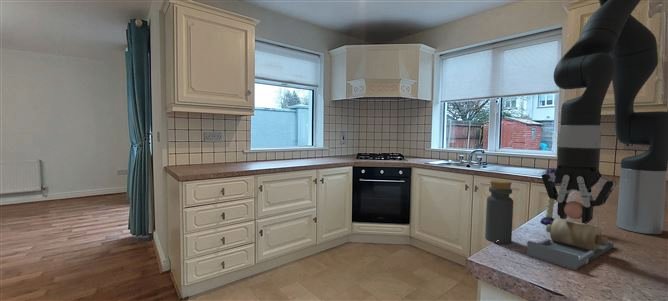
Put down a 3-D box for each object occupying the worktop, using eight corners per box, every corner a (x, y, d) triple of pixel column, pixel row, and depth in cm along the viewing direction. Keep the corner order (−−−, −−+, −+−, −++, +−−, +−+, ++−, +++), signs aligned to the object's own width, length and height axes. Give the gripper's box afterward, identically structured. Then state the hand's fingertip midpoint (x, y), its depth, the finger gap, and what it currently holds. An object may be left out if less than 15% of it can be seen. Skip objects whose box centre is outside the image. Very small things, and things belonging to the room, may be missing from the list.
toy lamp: (562, 224, 91) (565, 168, 90) (555, 227, 88) (559, 169, 87) (544, 220, 95) (546, 167, 94) (537, 223, 92) (540, 168, 91)
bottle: (488, 234, 82) (490, 178, 81) (513, 239, 78) (516, 181, 77) (482, 240, 77) (485, 181, 76) (508, 246, 73) (511, 184, 72)
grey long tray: (568, 236, 81) (569, 225, 81) (613, 247, 74) (614, 234, 73) (526, 255, 68) (527, 241, 68) (575, 270, 61) (576, 255, 61)
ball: (567, 215, 73) (568, 198, 73) (588, 219, 70) (589, 202, 70) (560, 217, 71) (561, 200, 71) (581, 222, 68) (582, 204, 67)
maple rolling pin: (542, 241, 75) (543, 218, 74) (552, 237, 78) (553, 215, 78) (600, 257, 65) (602, 231, 65) (609, 251, 69) (611, 227, 68)
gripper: (625, 146, 66) (620, 226, 67) (550, 144, 77) (546, 211, 79) (614, 147, 62) (608, 232, 63) (536, 144, 73) (532, 215, 74)
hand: (573, 220), depth 71 cm, fingers closed on ball, 3 cm apart
